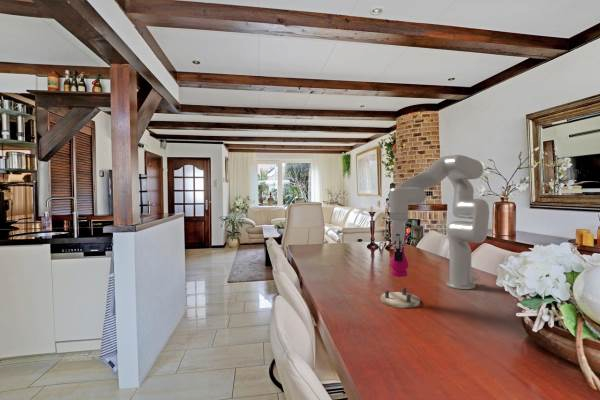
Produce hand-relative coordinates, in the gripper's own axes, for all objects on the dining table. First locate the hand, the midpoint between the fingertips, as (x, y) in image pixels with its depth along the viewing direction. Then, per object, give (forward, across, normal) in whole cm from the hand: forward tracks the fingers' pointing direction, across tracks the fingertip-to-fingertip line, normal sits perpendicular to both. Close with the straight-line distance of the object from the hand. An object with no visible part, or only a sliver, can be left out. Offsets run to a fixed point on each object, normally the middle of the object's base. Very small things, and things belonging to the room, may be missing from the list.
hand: (399, 259), depth 135 cm
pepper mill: (+7, 0, 0) cm, 7 cm away
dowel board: (+18, 0, 0) cm, 18 cm away
